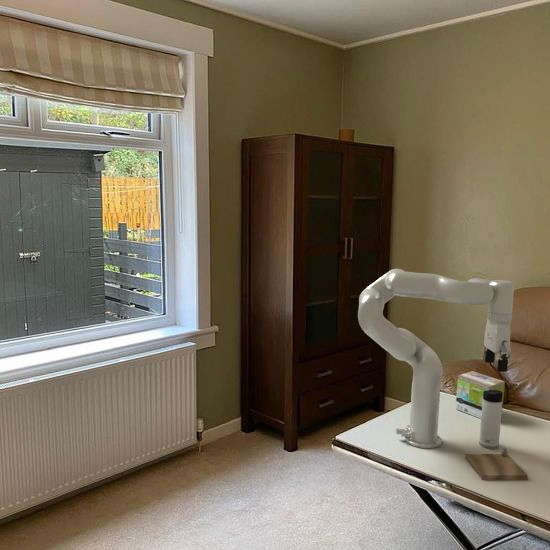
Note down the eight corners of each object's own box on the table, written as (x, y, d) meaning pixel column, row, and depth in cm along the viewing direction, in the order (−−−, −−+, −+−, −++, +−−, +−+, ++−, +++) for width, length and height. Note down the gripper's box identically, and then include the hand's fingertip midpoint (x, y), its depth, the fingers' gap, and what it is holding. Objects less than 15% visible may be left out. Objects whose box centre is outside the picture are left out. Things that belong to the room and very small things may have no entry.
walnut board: (482, 479, 170) (483, 467, 169) (464, 458, 183) (465, 446, 183) (527, 479, 170) (528, 467, 170) (506, 458, 184) (507, 446, 183)
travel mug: (489, 451, 189) (493, 394, 186) (475, 443, 195) (479, 388, 192) (503, 448, 191) (507, 392, 188) (489, 440, 197) (493, 386, 194)
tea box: (454, 409, 225) (456, 374, 223) (469, 404, 231) (471, 370, 229) (488, 422, 213) (491, 385, 211) (502, 416, 219) (505, 380, 217)
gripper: (477, 311, 195) (474, 359, 197) (500, 323, 178) (495, 375, 180) (498, 311, 195) (495, 359, 198) (523, 323, 178) (518, 375, 180)
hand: (495, 366), depth 189 cm, fingers open, 9 cm apart
